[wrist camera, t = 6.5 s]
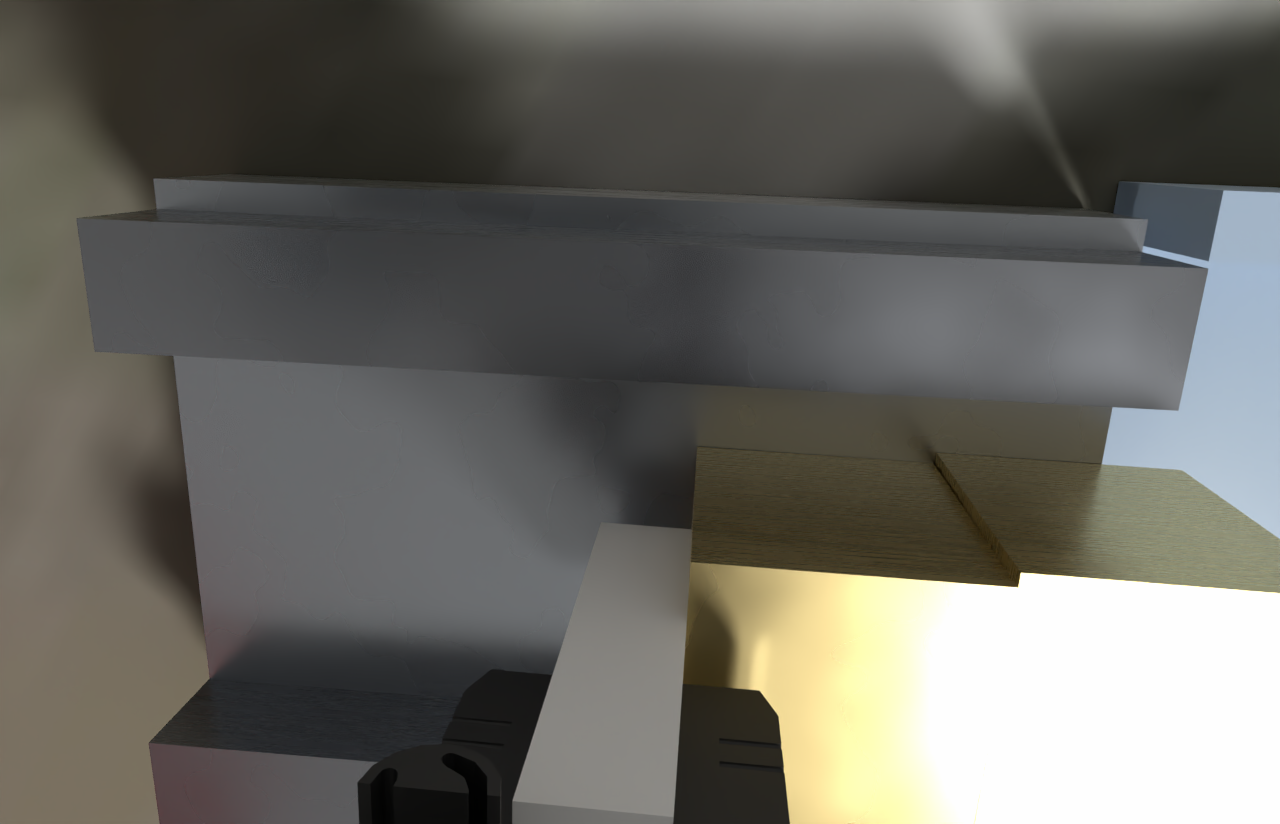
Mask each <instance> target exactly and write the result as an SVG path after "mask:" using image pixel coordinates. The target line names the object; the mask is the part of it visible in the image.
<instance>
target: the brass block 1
mask: <svg viewBox="0 0 1280 824" xmlns="http://www.w3.org/2000/svg"><path fill="white" fill-rule="evenodd" d="M691 529H692V536H691V554H690V572H689V590H688V608H687V625H686V640H685V655H684V670H683V684H692V685H704V686H715V687H726V688H737V689H749V690H760V692H761V693H762V694H763V696H764V697H765V698H766V700H767V701H768V702H769V704H770V705H771V707H772V708H773V709H774V711H775V712H776V713H777V715H778V717H779V726H780V735H781V749H782V754H783V763H784V773H785V782H786V791H787V801H788V810H789V819H790V824H974V823H975V818H976V812H977V807H978V802H979V796H980V791H981V785H982V780H983V775H984V769H985V764H986V759H987V753H988V748H989V742H990V737H991V732H992V726H993V721H994V715H995V710H996V705H997V699H998V694H999V689H1000V683H1001V678H1002V672H1003V667H1004V662H1005V656H1006V651H1007V646H1008V640H1009V635H1010V629H1011V624H1012V619H1013V613H1014V608H1015V603H1016V597H1017V592H1018V587H1017V585H1016V584H1015V582H1014V581H1013V579H1012V578H1011V576H1010V575H1009V573H1008V572H1007V570H1006V569H1005V567H1004V566H1003V564H1002V563H1001V562H1000V560H999V559H998V557H997V556H996V554H995V553H994V551H993V550H992V548H991V547H990V545H989V544H988V543H987V541H986V540H985V538H984V537H983V535H982V534H981V532H980V531H979V529H978V528H977V526H976V525H975V524H974V522H973V521H972V519H971V518H970V516H969V515H968V513H967V512H966V510H965V509H964V507H963V506H962V504H961V503H960V502H959V500H958V499H957V497H956V496H955V494H954V493H953V491H952V490H951V488H950V487H949V485H948V484H947V483H946V481H945V480H944V478H943V477H942V475H941V474H940V472H939V471H938V469H937V468H936V466H935V465H934V464H933V463H924V462H909V461H895V460H881V459H867V458H852V457H838V456H824V455H809V454H795V453H781V452H766V451H752V450H738V449H723V448H709V447H697V456H696V470H695V484H694V499H693V513H692V528H691Z"/></svg>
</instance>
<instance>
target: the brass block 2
mask: <svg viewBox="0 0 1280 824" xmlns="http://www.w3.org/2000/svg"><path fill="white" fill-rule="evenodd" d="M935 466H936V468H937V469H938V471H939V472H940V474H941V475H942V477H943V478H944V480H945V481H946V483H947V484H948V485H949V487H950V488H951V490H952V491H953V493H954V494H955V496H956V497H957V499H958V500H959V502H960V503H961V504H962V506H963V507H964V509H965V510H966V512H967V513H968V515H969V516H970V518H971V519H972V521H973V522H974V524H975V525H976V526H977V528H978V529H979V531H980V532H981V534H982V535H983V537H984V538H985V540H986V541H987V543H988V544H989V545H990V547H991V548H992V550H993V551H994V553H995V554H996V556H997V557H998V559H999V560H1000V562H1001V563H1002V564H1003V566H1004V567H1005V569H1006V570H1007V572H1008V573H1009V575H1010V576H1011V578H1012V579H1013V581H1014V582H1015V584H1016V585H1017V587H1018V592H1017V597H1016V603H1015V608H1014V613H1013V619H1012V624H1011V629H1010V635H1009V640H1008V646H1007V651H1006V656H1005V662H1004V667H1003V672H1002V678H1001V683H1000V689H999V694H998V699H997V705H996V710H995V715H994V721H993V726H992V732H991V737H990V742H989V748H988V753H987V759H986V764H985V769H984V775H983V780H982V785H981V791H980V796H979V802H978V807H977V812H976V818H975V823H974V824H1280V539H1279V538H1278V537H1276V536H1275V535H1273V534H1272V533H1271V532H1269V531H1268V530H1266V529H1265V528H1264V527H1262V526H1261V525H1259V524H1258V523H1256V522H1255V521H1254V520H1252V519H1251V518H1249V517H1248V516H1246V515H1245V514H1244V513H1242V512H1241V511H1239V510H1238V509H1237V508H1235V507H1234V506H1232V505H1231V504H1229V503H1228V502H1227V501H1225V500H1224V499H1222V498H1221V497H1220V496H1218V495H1217V494H1215V493H1214V492H1212V491H1211V490H1210V489H1208V488H1207V487H1205V486H1204V485H1203V484H1201V483H1200V482H1198V481H1197V480H1195V479H1194V478H1193V477H1191V476H1190V475H1188V474H1187V473H1185V472H1184V471H1183V470H1173V469H1159V468H1145V467H1131V466H1117V465H1103V464H1089V463H1075V462H1061V461H1047V460H1033V459H1019V458H1005V457H991V456H977V455H963V454H950V453H937V454H936V460H935Z"/></svg>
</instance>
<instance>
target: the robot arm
mask: <svg viewBox="0 0 1280 824" xmlns="http://www.w3.org/2000/svg"><path fill="white" fill-rule="evenodd" d="M691 536H692V529H681V528H668V527H655V526H643V525H630V524H617V523H604V522H601V524H600V527H599V530H598V534H597V537H596V540H595V543H594V546H593V549H592V552H591V556H590V559H589V562H588V565H587V568H586V571H585V574H584V578H583V581H582V584H581V587H580V590H579V593H578V596H577V600H576V603H575V606H574V609H573V612H572V615H571V618H570V622H569V625H568V628H567V631H566V634H565V637H564V640H563V644H562V647H561V650H560V653H559V656H558V659H557V662H556V666H555V669H554V672H553V675H549V674H538V673H527V672H515V671H504V670H493V669H491V670H490V671H488V672H487V673H486V674H485V675H483V676H482V677H481V678H480V679H478V680H477V681H476V682H475V683H473V684H472V685H471V686H470V687H468V688H467V689H466V690H465V691H464V693H463V695H462V697H461V700H460V702H459V704H458V706H457V708H456V710H455V712H454V714H453V718H452V722H450V723H449V725H448V727H447V729H446V731H445V733H444V736H443V738H442V744H435V745H420V746H416V747H413V748H409V749H405V750H402V751H398V752H395V753H393V754H391V755H390V756H388V757H386V758H384V759H383V760H381V761H379V762H378V763H376V764H374V765H373V766H372V767H371V768H370V769H369V770H368V771H367V772H366V773H365V775H364V776H363V777H362V778H361V779H360V780H359V781H358V782H357V787H358V809H359V824H790V819H789V810H788V801H787V791H786V782H785V773H784V763H783V754H782V749H781V735H780V726H779V717H778V715H777V713H776V712H775V711H774V709H773V708H772V707H771V705H770V704H769V702H768V701H767V700H766V698H765V697H764V696H763V694H762V693H761V692H760V690H749V689H737V688H726V687H715V686H704V685H692V684H683V670H684V655H685V640H686V625H687V608H688V590H689V572H690V554H691Z"/></svg>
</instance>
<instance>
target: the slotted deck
mask: <svg viewBox="0 0 1280 824" xmlns="http://www.w3.org/2000/svg"><path fill="white" fill-rule="evenodd" d="M153 180H154V189H155V198H156V207H157V209H155V210H146V211H137V212H128V213H119V214H110V215H102V216H93V217H84V218H77V226H78V233H79V240H80V247H81V255H82V262H83V269H84V276H85V284H86V291H87V298H88V306H89V313H90V320H91V327H92V335H93V342H94V349H95V352H112V353H130V354H149V355H167V356H173V358H174V366H175V375H176V384H177V393H178V402H179V411H180V420H181V429H182V437H183V446H184V455H185V464H186V473H187V482H188V491H189V500H190V508H191V517H192V526H193V535H194V544H195V553H196V562H197V570H198V579H199V588H200V597H201V606H202V615H203V624H204V633H205V641H206V650H207V659H208V668H209V677H210V679H209V680H208V681H207V682H206V683H205V684H204V685H203V686H202V687H201V688H200V690H199V691H198V692H197V693H196V694H195V695H194V696H193V697H192V698H191V699H190V700H189V701H188V702H187V703H186V704H185V705H184V706H183V707H182V708H181V710H180V711H179V712H178V713H177V714H176V715H175V716H174V717H173V718H172V719H171V720H170V721H169V722H168V723H167V724H166V725H165V726H164V727H163V728H162V729H161V731H160V732H159V733H158V734H157V735H156V736H155V737H154V738H153V739H152V740H151V741H150V742H149V749H150V756H151V763H152V771H153V778H154V785H155V792H156V800H157V807H158V814H159V821H160V824H359V809H358V787H357V782H358V781H359V780H360V779H361V778H362V777H363V776H364V775H365V773H366V772H367V771H368V770H369V769H370V768H371V767H372V766H373V765H374V764H376V763H378V762H379V761H381V760H383V759H384V758H386V757H388V756H390V755H391V754H393V753H395V752H398V751H402V750H405V749H409V748H413V747H416V746H420V745H435V744H442V738H443V736H444V733H445V731H446V729H447V727H448V725H449V723H450V722H452V718H453V714H454V712H455V710H456V708H457V706H458V704H459V702H460V700H461V697H462V695H463V693H464V691H465V690H466V689H467V688H468V687H470V686H471V685H472V684H473V683H475V682H476V681H477V680H478V679H480V678H481V677H482V676H483V675H485V674H486V673H487V672H488V671H490V670H491V669H493V670H504V671H515V672H527V673H538V674H549V675H553V672H554V669H555V666H556V662H557V659H558V656H559V653H560V650H561V647H562V644H563V640H564V637H565V634H566V631H567V628H568V625H569V622H570V618H571V615H572V612H573V609H574V606H575V603H576V600H577V596H578V593H579V590H580V587H581V584H582V581H583V578H584V574H585V571H586V568H587V565H588V562H589V559H590V556H591V552H592V549H593V546H594V543H595V540H596V537H597V534H598V530H599V527H600V524H601V522H604V523H617V524H630V525H643V526H655V527H668V528H681V529H691V528H692V513H693V499H694V484H695V470H696V456H697V447H709V448H723V449H738V450H752V451H766V452H781V453H795V454H809V455H824V456H838V457H852V458H867V459H881V460H895V461H909V462H924V463H933V464H934V465H935V460H936V454H937V453H950V454H963V455H977V456H991V457H1005V458H1019V459H1033V460H1047V461H1061V462H1075V463H1089V464H1102V460H1103V455H1104V450H1105V445H1106V439H1107V434H1108V429H1109V424H1110V418H1111V413H1112V408H1113V407H1118V408H1137V409H1155V410H1173V411H1179V406H1180V401H1181V397H1182V392H1183V387H1184V382H1185V378H1186V373H1187V368H1188V364H1189V359H1190V354H1191V349H1192V345H1193V340H1194V335H1195V331H1196V326H1197V321H1198V316H1199V312H1200V307H1201V302H1202V298H1203V293H1204V288H1205V283H1206V279H1207V274H1208V268H1204V267H1200V266H1196V265H1192V264H1188V263H1184V262H1180V261H1176V260H1172V259H1168V258H1164V257H1160V256H1156V255H1152V254H1148V253H1144V252H1142V250H1143V245H1144V240H1145V235H1146V229H1147V224H1148V219H1143V218H1137V217H1131V216H1125V215H1119V214H1113V213H1107V212H1102V211H1096V210H1090V209H1079V208H1054V207H1030V206H1005V205H980V204H956V203H931V202H906V201H882V200H857V199H832V198H808V197H783V196H758V195H734V194H709V193H684V192H660V191H635V190H610V189H586V188H561V187H536V186H512V185H487V184H462V183H438V182H413V181H388V180H364V179H339V178H314V177H290V176H265V175H240V174H223V175H206V176H189V177H171V178H154V179H153Z"/></svg>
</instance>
